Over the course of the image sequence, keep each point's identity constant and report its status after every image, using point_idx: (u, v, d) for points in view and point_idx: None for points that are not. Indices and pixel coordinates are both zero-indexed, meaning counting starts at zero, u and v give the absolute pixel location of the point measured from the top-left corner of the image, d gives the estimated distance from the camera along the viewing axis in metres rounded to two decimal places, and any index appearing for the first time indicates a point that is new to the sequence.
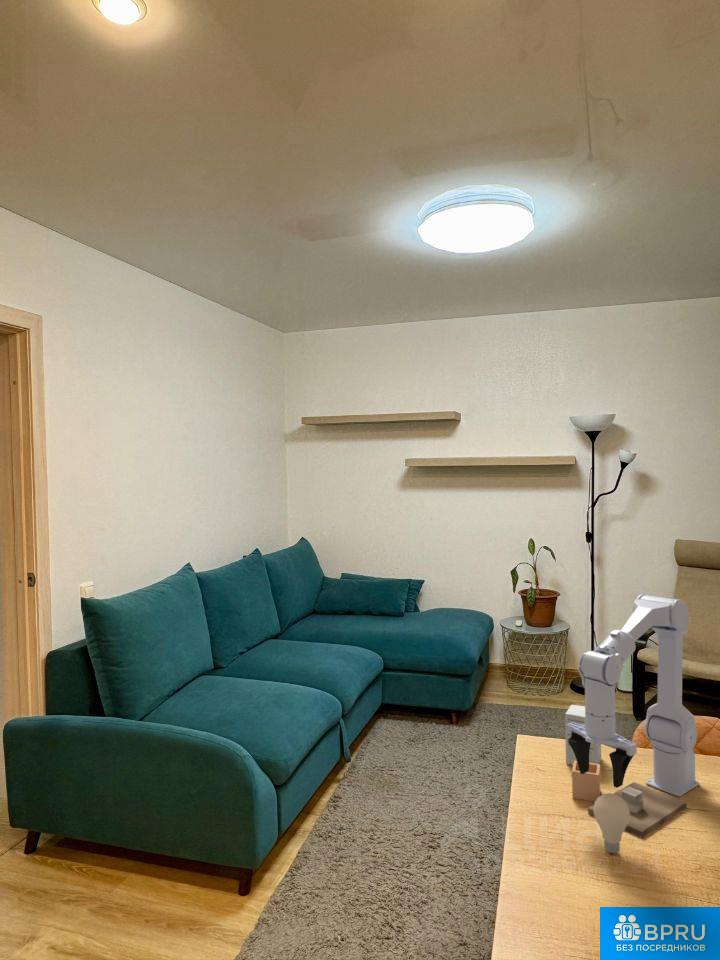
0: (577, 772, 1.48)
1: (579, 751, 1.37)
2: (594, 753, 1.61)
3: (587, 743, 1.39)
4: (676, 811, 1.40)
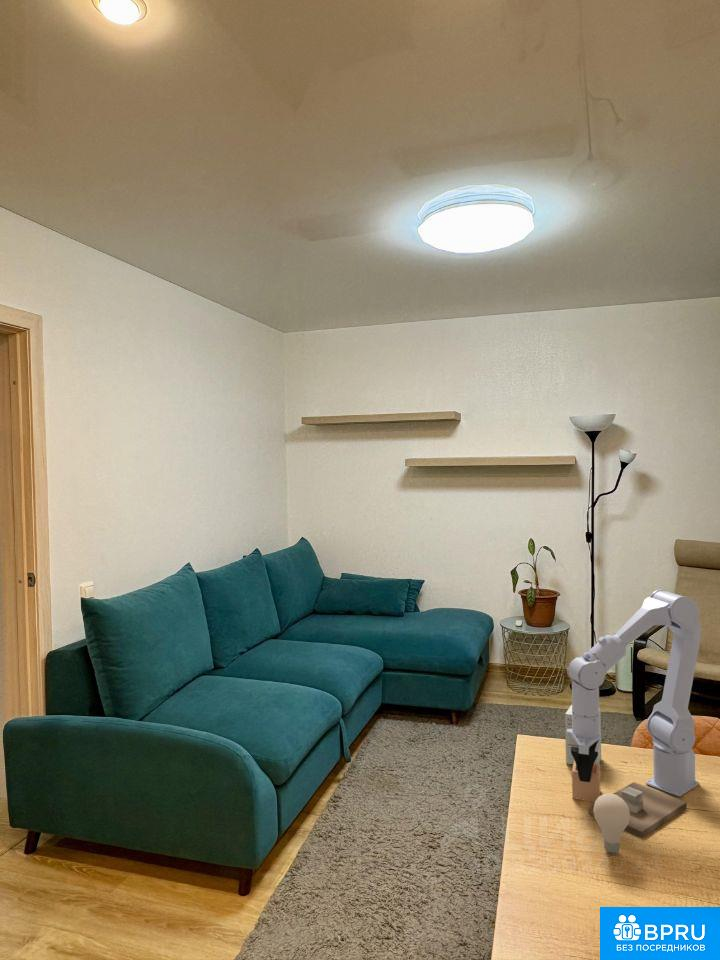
0: (577, 772, 1.48)
1: None
2: None
3: None
4: (676, 811, 1.40)
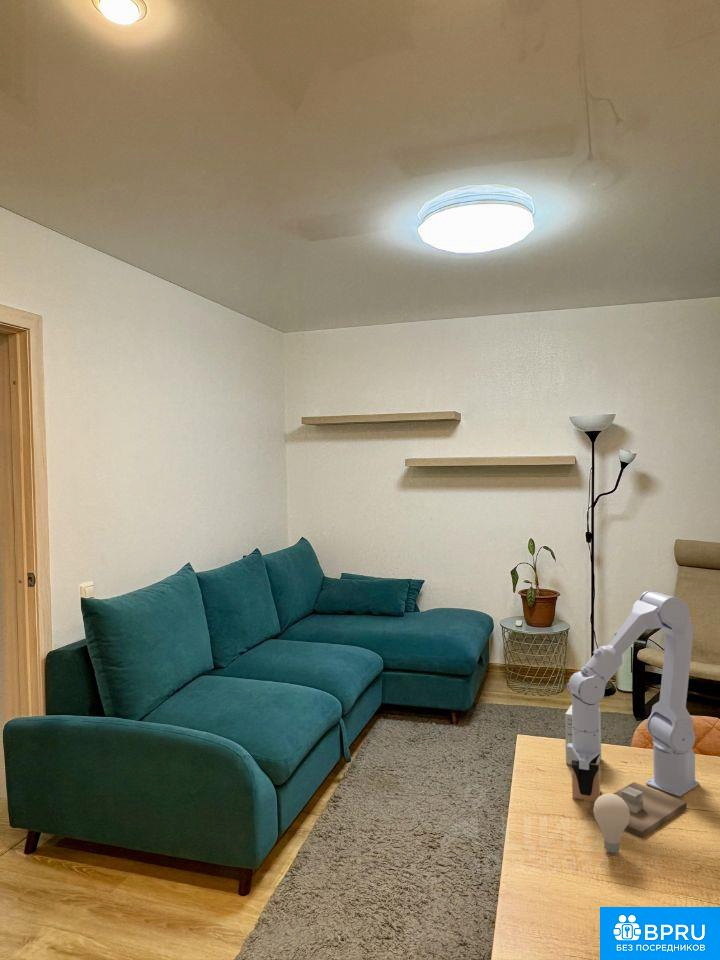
0: None
1: (578, 759, 1.53)
2: None
3: None
4: (676, 811, 1.40)
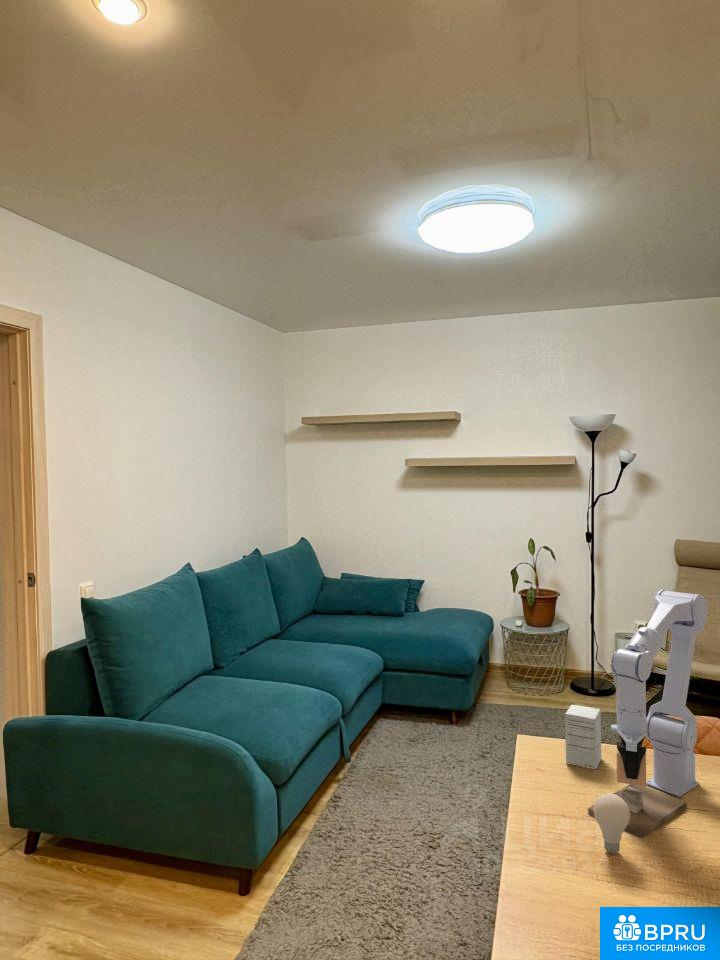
0: None
1: (622, 741, 1.44)
2: (594, 753, 1.61)
3: None
4: (676, 811, 1.40)
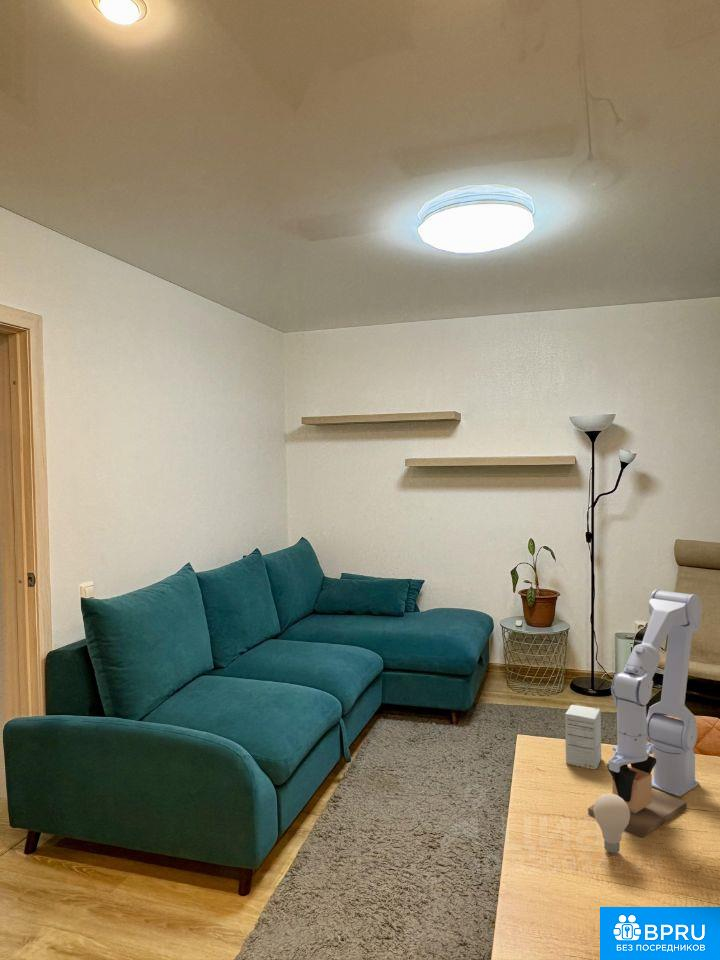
0: None
1: (631, 764, 1.44)
2: (594, 753, 1.61)
3: (644, 765, 1.42)
4: (676, 811, 1.40)
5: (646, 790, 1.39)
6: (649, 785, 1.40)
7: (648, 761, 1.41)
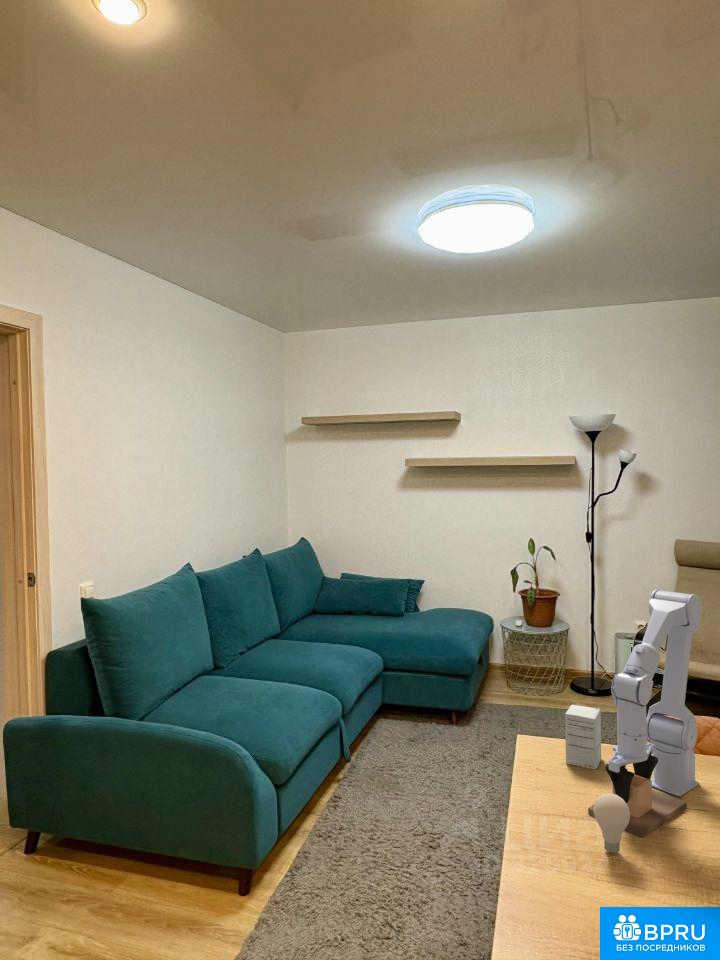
0: None
1: (633, 764, 1.45)
2: (594, 753, 1.61)
3: (646, 764, 1.42)
4: (676, 811, 1.40)
5: (646, 796, 1.39)
6: (650, 791, 1.40)
7: (650, 760, 1.42)
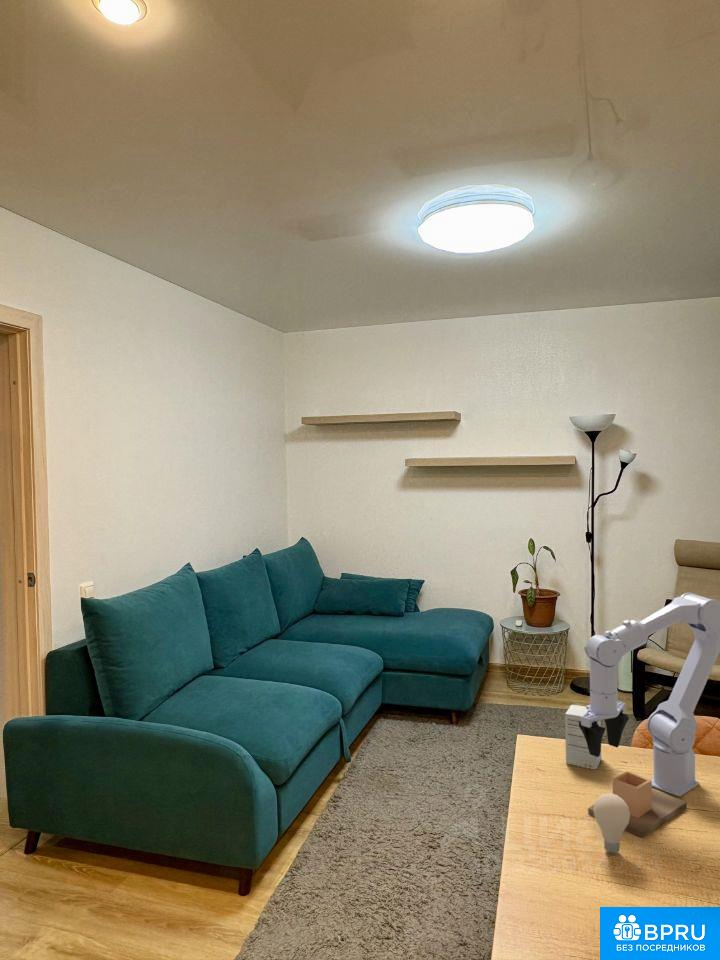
0: (617, 781, 1.41)
1: (605, 722, 1.54)
2: None
3: (617, 722, 1.52)
4: (676, 811, 1.40)
5: (646, 796, 1.39)
6: (650, 791, 1.40)
7: (621, 718, 1.51)
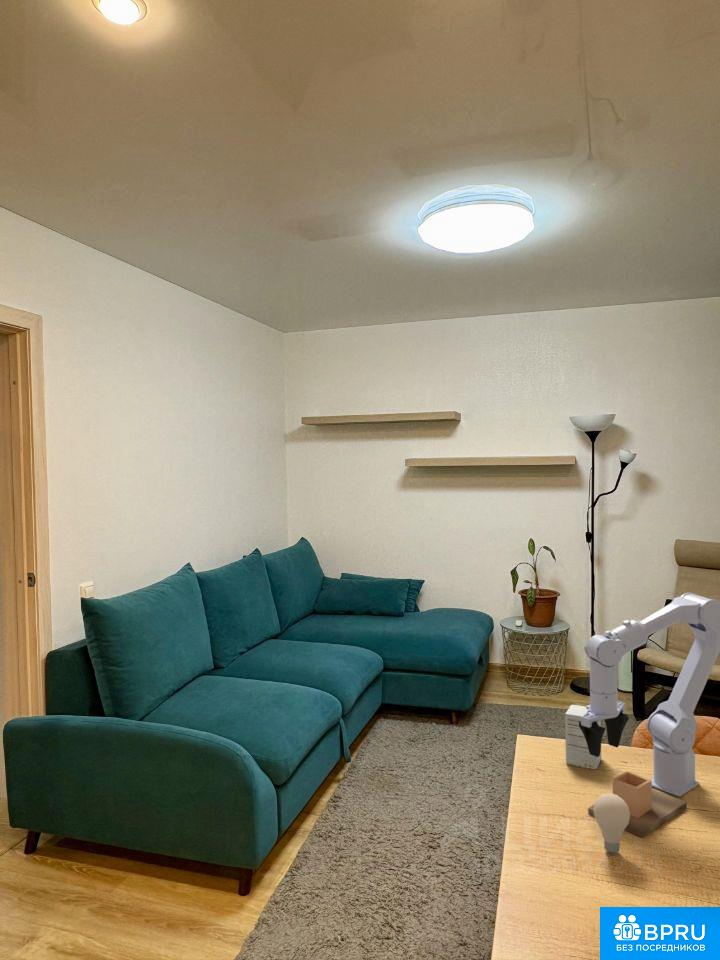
0: (617, 781, 1.41)
1: (605, 722, 1.54)
2: None
3: (617, 722, 1.52)
4: (676, 811, 1.40)
5: (646, 796, 1.39)
6: (650, 791, 1.40)
7: (621, 718, 1.51)
